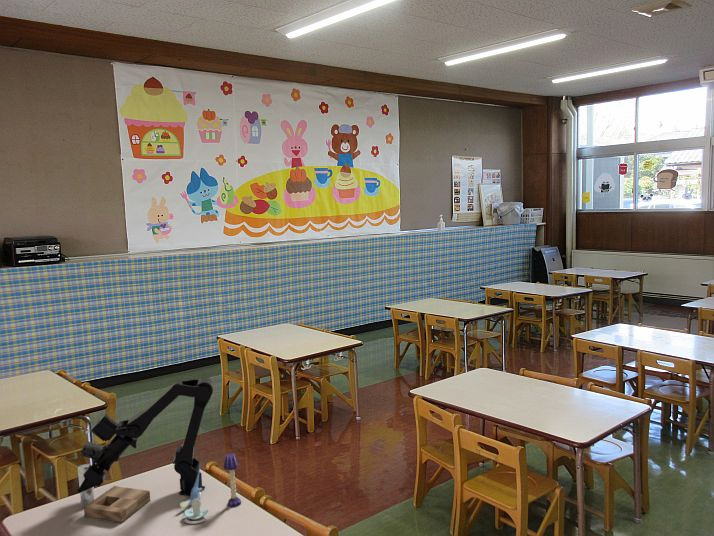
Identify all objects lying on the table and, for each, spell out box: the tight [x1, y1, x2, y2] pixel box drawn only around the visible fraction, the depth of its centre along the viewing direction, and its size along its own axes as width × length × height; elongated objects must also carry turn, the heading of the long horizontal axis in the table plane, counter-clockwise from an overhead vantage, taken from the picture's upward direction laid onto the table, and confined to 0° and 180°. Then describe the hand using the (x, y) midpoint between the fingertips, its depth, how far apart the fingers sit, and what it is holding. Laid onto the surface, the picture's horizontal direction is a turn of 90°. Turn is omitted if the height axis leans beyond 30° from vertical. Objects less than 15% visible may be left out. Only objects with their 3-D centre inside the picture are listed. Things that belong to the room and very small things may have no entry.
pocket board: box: [83, 485, 151, 524], centre depth 191 cm, size 14×14×4 cm
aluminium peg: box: [77, 463, 95, 509], centre depth 194 cm, size 4×4×13 cm
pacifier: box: [184, 498, 209, 525], centre depth 183 cm, size 7×6×6 cm
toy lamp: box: [223, 452, 242, 508], centre depth 191 cm, size 5×5×17 cm
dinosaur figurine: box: [179, 462, 203, 511], centre depth 193 cm, size 3×15×10 cm
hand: (81, 485), depth 193 cm, fingers open, 9 cm apart
